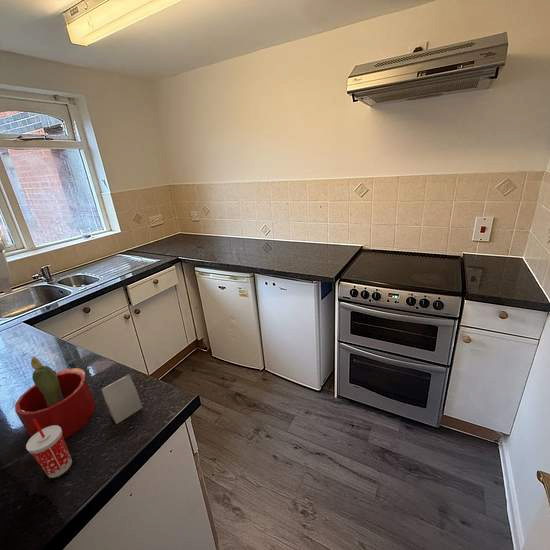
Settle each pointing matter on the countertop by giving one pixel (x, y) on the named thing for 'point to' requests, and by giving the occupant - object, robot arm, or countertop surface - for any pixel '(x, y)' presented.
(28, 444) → the beverage cup
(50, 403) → the vegetable
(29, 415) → the pot
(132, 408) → the grey rectangular block
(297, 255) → the countertop surface
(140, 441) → the countertop surface
